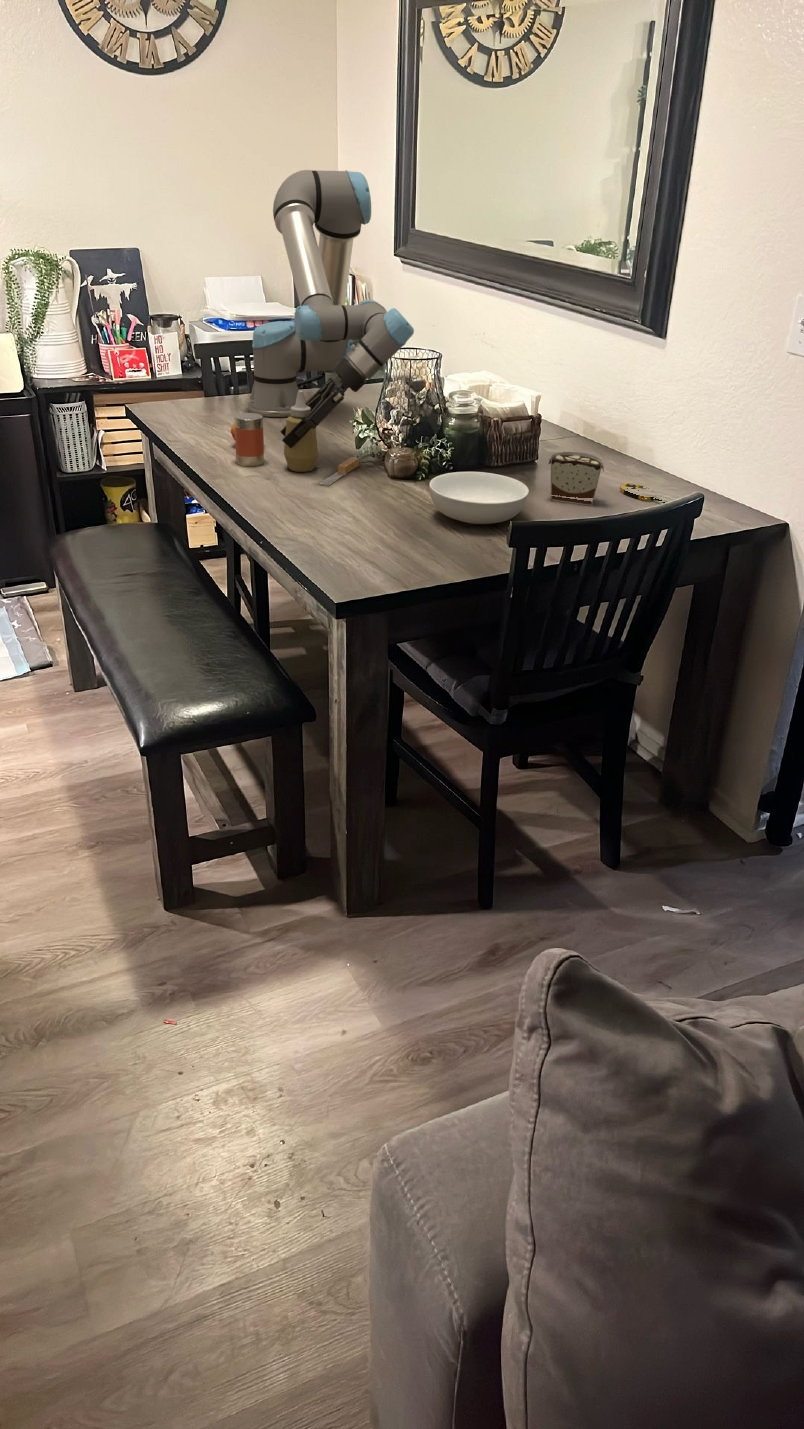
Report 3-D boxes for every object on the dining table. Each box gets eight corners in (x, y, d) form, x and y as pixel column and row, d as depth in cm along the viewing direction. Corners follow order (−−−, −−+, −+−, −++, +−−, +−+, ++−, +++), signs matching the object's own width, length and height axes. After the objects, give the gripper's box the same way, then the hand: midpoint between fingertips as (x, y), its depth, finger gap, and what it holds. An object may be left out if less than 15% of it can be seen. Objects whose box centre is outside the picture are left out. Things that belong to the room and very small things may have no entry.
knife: (350, 464, 257) (350, 456, 256) (359, 465, 256) (359, 458, 255) (318, 484, 242) (318, 476, 241) (328, 486, 241) (328, 478, 240)
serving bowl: (459, 540, 214) (461, 506, 211) (410, 508, 230) (411, 477, 227) (545, 527, 223) (548, 495, 219) (492, 497, 239) (494, 467, 235)
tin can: (244, 457, 259) (242, 411, 253) (269, 460, 257) (268, 414, 251) (230, 464, 253) (228, 417, 248) (256, 468, 251) (254, 421, 246)
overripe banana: (631, 480, 247) (680, 498, 237) (630, 488, 248) (679, 506, 238) (616, 483, 245) (665, 501, 234) (615, 491, 246) (663, 510, 235)
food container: (603, 499, 241) (609, 455, 236) (598, 507, 235) (604, 462, 230) (549, 491, 244) (554, 448, 239) (544, 499, 239) (548, 455, 234)
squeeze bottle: (284, 463, 255) (282, 387, 246) (318, 464, 256) (317, 387, 247) (283, 474, 248) (282, 395, 239) (318, 474, 249) (318, 396, 240)
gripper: (340, 347, 249) (271, 418, 255) (349, 365, 232) (276, 440, 238) (362, 371, 253) (294, 440, 258) (373, 390, 236) (300, 463, 241)
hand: (285, 439), depth 248 cm, fingers closed on squeeze bottle, 6 cm apart
